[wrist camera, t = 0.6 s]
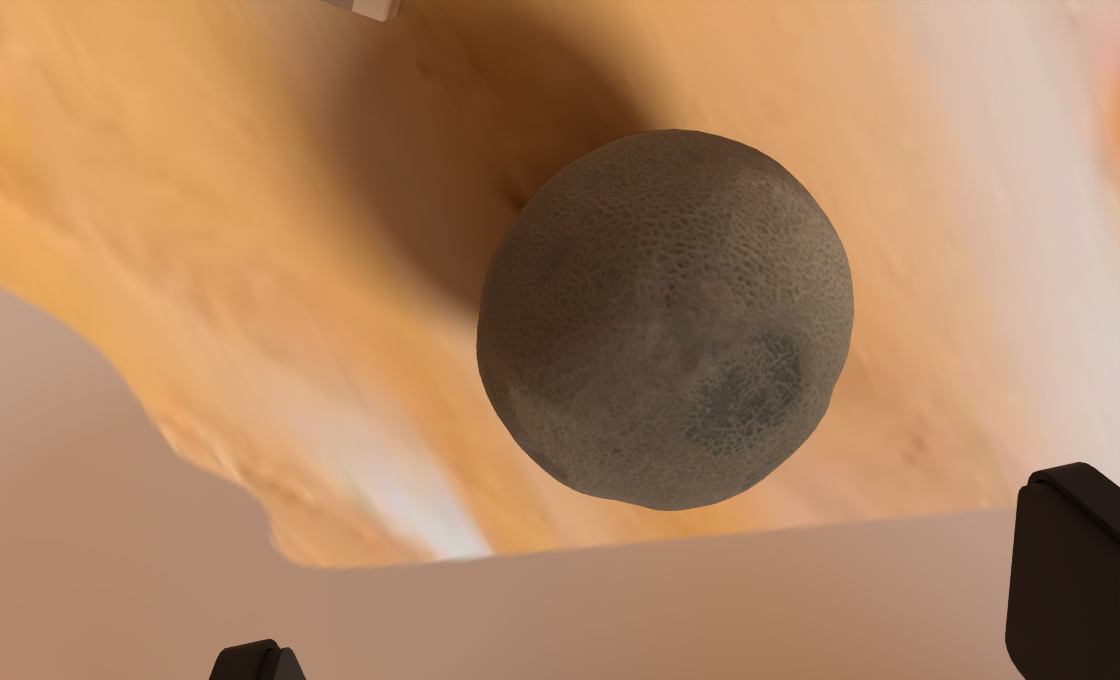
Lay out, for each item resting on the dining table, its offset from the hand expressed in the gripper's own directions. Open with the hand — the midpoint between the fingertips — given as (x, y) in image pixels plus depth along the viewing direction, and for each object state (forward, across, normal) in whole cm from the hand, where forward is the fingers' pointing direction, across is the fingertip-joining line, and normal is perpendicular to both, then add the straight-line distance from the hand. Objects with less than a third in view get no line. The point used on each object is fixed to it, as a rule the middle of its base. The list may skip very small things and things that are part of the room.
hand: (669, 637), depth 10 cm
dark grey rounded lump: (+28, -4, +5) cm, 28 cm away
